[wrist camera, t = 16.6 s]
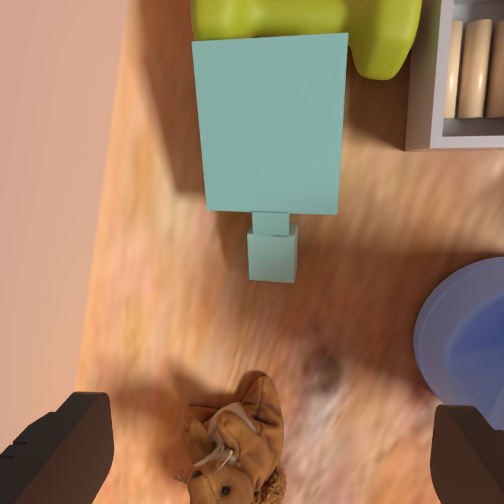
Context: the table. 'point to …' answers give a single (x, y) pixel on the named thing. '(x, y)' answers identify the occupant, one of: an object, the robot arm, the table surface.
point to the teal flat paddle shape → (272, 136)
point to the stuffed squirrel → (237, 450)
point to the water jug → (465, 339)
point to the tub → (457, 77)
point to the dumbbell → (319, 26)
